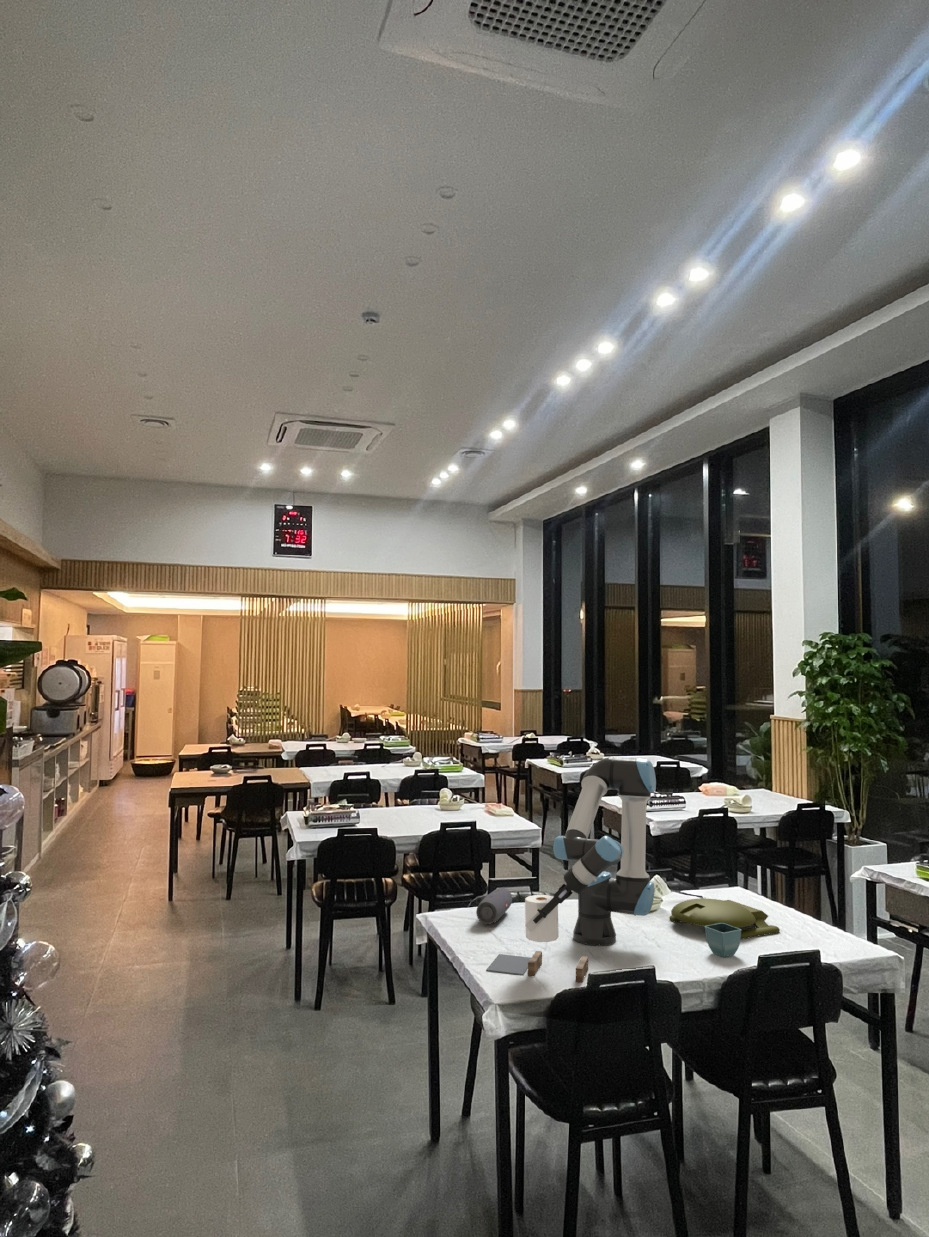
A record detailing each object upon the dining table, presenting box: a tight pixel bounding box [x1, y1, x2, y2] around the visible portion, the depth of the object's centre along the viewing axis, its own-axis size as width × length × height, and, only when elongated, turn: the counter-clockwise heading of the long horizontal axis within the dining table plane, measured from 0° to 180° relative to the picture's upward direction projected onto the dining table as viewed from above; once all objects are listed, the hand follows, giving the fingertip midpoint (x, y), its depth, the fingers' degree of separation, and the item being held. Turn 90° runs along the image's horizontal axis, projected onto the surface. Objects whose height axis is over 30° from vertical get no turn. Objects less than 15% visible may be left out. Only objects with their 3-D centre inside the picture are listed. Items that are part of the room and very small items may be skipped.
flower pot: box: [704, 923, 742, 958], centre depth 277 cm, size 9×9×9 cm
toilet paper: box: [524, 894, 560, 943], centre depth 259 cm, size 10×10×12 cm
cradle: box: [527, 950, 589, 983], centre depth 257 cm, size 12×17×4 cm
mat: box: [485, 953, 532, 976], centre depth 263 cm, size 16×12×1 cm
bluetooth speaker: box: [475, 887, 513, 925], centre depth 315 cm, size 23×9×10 cm, turn 162°
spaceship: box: [669, 898, 781, 940], centre depth 308 cm, size 35×31×10 cm
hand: (532, 923), depth 260 cm, fingers closed on toilet paper, 10 cm apart
